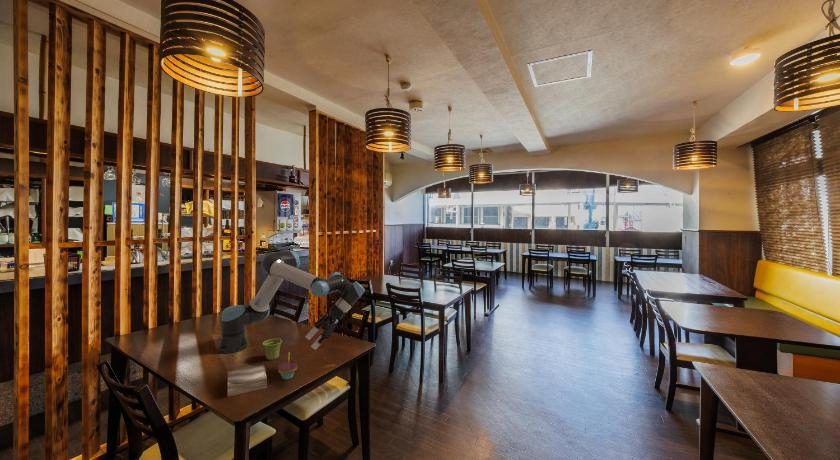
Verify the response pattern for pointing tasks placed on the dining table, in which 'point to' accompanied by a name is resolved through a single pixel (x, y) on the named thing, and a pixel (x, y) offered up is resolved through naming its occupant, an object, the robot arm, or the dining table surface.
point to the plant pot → (272, 348)
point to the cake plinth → (246, 380)
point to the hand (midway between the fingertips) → (309, 343)
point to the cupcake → (287, 368)
